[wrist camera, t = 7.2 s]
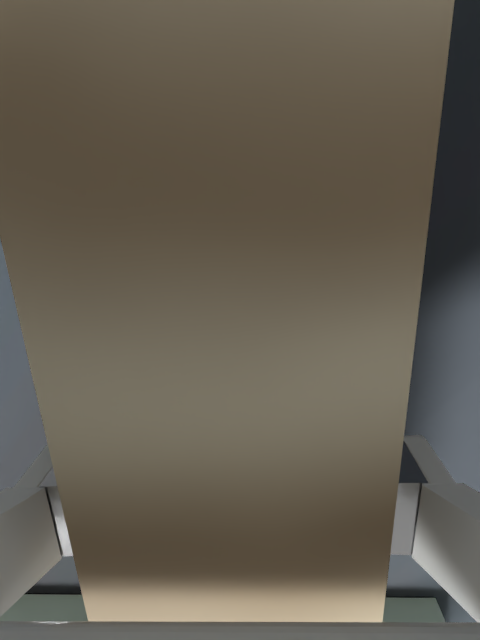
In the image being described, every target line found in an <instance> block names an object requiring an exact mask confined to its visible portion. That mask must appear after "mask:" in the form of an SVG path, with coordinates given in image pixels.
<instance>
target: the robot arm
mask: <svg viewBox="0 0 480 640" xmlns="http://www.w3.org/2000/svg"><path fill="white" fill-rule="evenodd" d="M390 555H412V558H413V559H414V560H415V561H416V562H417V563H418V564H419V565H420V566H421V567H422V568H423V569H424V570H425V571H426V572H427V573H428V574H429V575H430V576H431V577H432V578H433V579H434V580H435V581H436V582H437V583H438V584H439V585H441V586H442V587H443V588H444V589H445V590H446V591H447V592H448V593H449V594H450V595H451V596H452V597H453V598H454V599H455V600H456V601H457V602H458V603H459V604H460V605H461V606H462V607H463V608H464V609H465V610H466V611H467V612H468V613H469V614H470V615H471V616H472V617H473V618H474V619H475V620H476V621H477V622H478V623H447V622H138V621H0V640H480V493H479V492H477V491H476V490H474V489H472V488H470V487H469V486H467V485H465V484H464V483H456V482H455V481H454V479H453V478H452V476H451V475H450V474H449V472H448V471H447V469H446V468H445V466H444V465H443V463H442V462H441V461H440V459H439V458H438V456H437V455H436V453H435V452H434V450H433V449H432V447H431V446H430V445H429V443H428V442H427V440H426V439H425V437H423V436H422V435H404V440H403V449H402V458H401V466H400V475H399V484H398V492H397V501H396V509H395V518H394V527H393V535H392V544H391V553H390ZM61 556H73V553H72V548H71V544H70V539H69V535H68V531H67V526H66V522H65V518H64V513H63V509H62V504H61V500H60V496H59V491H58V487H57V483H56V478H55V474H54V470H53V465H52V461H51V456H50V452H49V448H48V444H47V445H46V447H45V448H44V449H43V450H42V452H41V453H40V454H39V456H38V457H37V458H36V459H35V461H34V462H33V463H32V464H31V466H30V467H29V468H28V470H27V471H26V472H25V473H24V475H23V476H22V477H21V479H20V480H19V481H18V482H17V484H16V485H15V486H14V487H13V488H5V489H4V490H2V491H0V617H1V616H2V615H3V614H4V613H5V612H6V611H7V610H8V609H9V608H10V607H11V606H12V605H13V604H14V603H16V602H17V601H18V600H19V599H20V598H21V597H22V596H23V595H24V594H25V593H26V592H27V591H28V590H29V589H30V588H31V587H32V586H33V585H34V584H35V583H37V582H38V581H39V580H40V579H41V578H42V577H43V576H44V575H45V574H46V573H47V572H48V571H49V570H50V569H51V568H52V567H53V566H54V565H55V564H56V563H58V562H59V561H60V560H61V559H62V557H61Z"/></svg>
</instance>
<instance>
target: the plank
mask: <svg viewBox="0 0 480 640" xmlns="http://www.w3.org/2000/svg"><path fill="white" fill-rule="evenodd" d="M454 1H455V0H0V238H1V242H2V247H3V251H4V255H5V260H6V264H7V269H8V273H9V277H10V282H11V286H12V290H13V295H14V299H15V303H16V308H17V312H18V317H19V321H20V325H21V330H22V334H23V338H24V343H25V347H26V352H27V356H28V360H29V365H30V369H31V373H32V378H33V382H34V386H35V391H36V395H37V400H38V404H39V408H40V413H41V417H42V421H43V426H44V430H45V435H46V439H47V443H48V448H49V452H50V456H51V461H52V465H53V470H54V474H55V478H56V483H57V487H58V491H59V496H60V500H61V504H62V509H63V513H64V518H65V522H66V526H67V531H68V535H69V539H70V544H71V548H72V553H73V557H74V561H75V566H76V570H77V574H78V579H79V583H80V587H81V592H82V596H83V601H84V605H85V609H86V614H87V618H88V621H138V622H382V621H383V613H384V604H385V596H386V587H387V578H388V570H389V561H390V553H391V544H392V535H393V527H394V518H395V509H396V501H397V492H398V484H399V475H400V466H401V458H402V449H403V440H404V432H405V423H406V415H407V406H408V397H409V389H410V380H411V372H412V363H413V354H414V346H415V337H416V328H417V320H418V311H419V303H420V294H421V285H422V277H423V268H424V260H425V251H426V242H427V234H428V225H429V216H430V208H431V199H432V191H433V182H434V173H435V165H436V156H437V148H438V139H439V130H440V122H441V113H442V104H443V96H444V87H445V79H446V70H447V61H448V53H449V44H450V36H451V27H452V18H453V10H454Z"/></svg>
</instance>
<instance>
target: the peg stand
mask: <svg viewBox="0 0 480 640" xmlns="http://www.w3.org/2000/svg"><path fill="white" fill-rule="evenodd" d="M0 621H88V618H87V614H86V609H85V605H84V601H83V596H82V595H55V594H24V595H23V596H22V597H21V598H20V599H19V600H18V601H17V602H16V603H14V604H13V605H12V606H11V607H10V608H9V609H8V610H7V611H6V612H5V613H4V614H3V615H2V616H1V617H0ZM382 622H445V619H444V617H443V615H442V612H441V610H440V608H439V605H438V603H437V601H436V598H386V597H385V604H384V613H383V621H382Z"/></svg>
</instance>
